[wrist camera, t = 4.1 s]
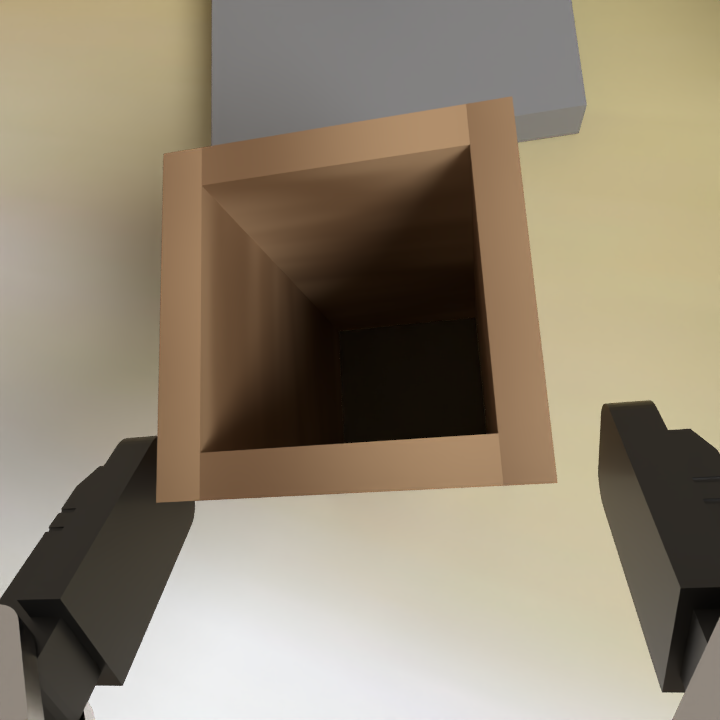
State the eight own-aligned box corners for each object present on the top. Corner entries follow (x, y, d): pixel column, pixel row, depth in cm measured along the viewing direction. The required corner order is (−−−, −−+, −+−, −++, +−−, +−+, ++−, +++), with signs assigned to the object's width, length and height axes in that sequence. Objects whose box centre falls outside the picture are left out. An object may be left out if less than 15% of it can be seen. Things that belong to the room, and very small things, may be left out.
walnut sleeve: (496, 294, 19) (512, 96, 9) (515, 481, 18) (557, 482, 8) (318, 313, 20) (163, 153, 10) (324, 491, 19) (156, 502, 9)
